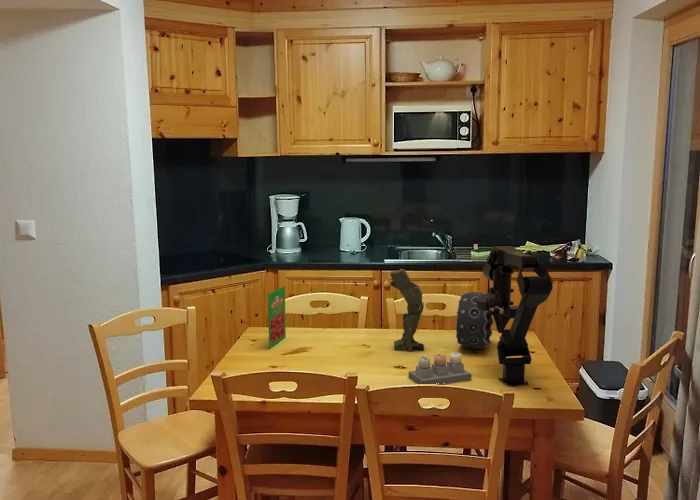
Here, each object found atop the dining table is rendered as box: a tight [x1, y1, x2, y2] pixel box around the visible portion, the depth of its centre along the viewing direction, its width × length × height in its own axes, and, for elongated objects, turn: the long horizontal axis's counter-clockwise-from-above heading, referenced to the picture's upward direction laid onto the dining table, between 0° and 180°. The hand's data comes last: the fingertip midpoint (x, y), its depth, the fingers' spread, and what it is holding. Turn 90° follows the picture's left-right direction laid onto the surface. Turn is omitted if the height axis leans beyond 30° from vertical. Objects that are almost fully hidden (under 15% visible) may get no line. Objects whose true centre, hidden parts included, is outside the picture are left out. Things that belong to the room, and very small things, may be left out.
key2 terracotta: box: [433, 353, 447, 366], centre depth 201 cm, size 4×4×5 cm
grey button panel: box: [408, 360, 472, 385], centre depth 201 cm, size 9×17×4 cm, turn 112°
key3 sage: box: [417, 356, 431, 369], centre depth 199 cm, size 4×4×5 cm
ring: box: [455, 291, 494, 350], centre depth 231 cm, size 11×20×20 cm, turn 160°
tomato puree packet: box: [267, 285, 287, 350], centre depth 235 cm, size 15×1×20 cm, turn 163°
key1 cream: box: [449, 351, 463, 364], centre depth 203 cm, size 4×4×5 cm
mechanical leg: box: [389, 268, 425, 352], centre depth 229 cm, size 14×7×30 cm, turn 84°
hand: (500, 332), depth 209 cm, fingers closed
